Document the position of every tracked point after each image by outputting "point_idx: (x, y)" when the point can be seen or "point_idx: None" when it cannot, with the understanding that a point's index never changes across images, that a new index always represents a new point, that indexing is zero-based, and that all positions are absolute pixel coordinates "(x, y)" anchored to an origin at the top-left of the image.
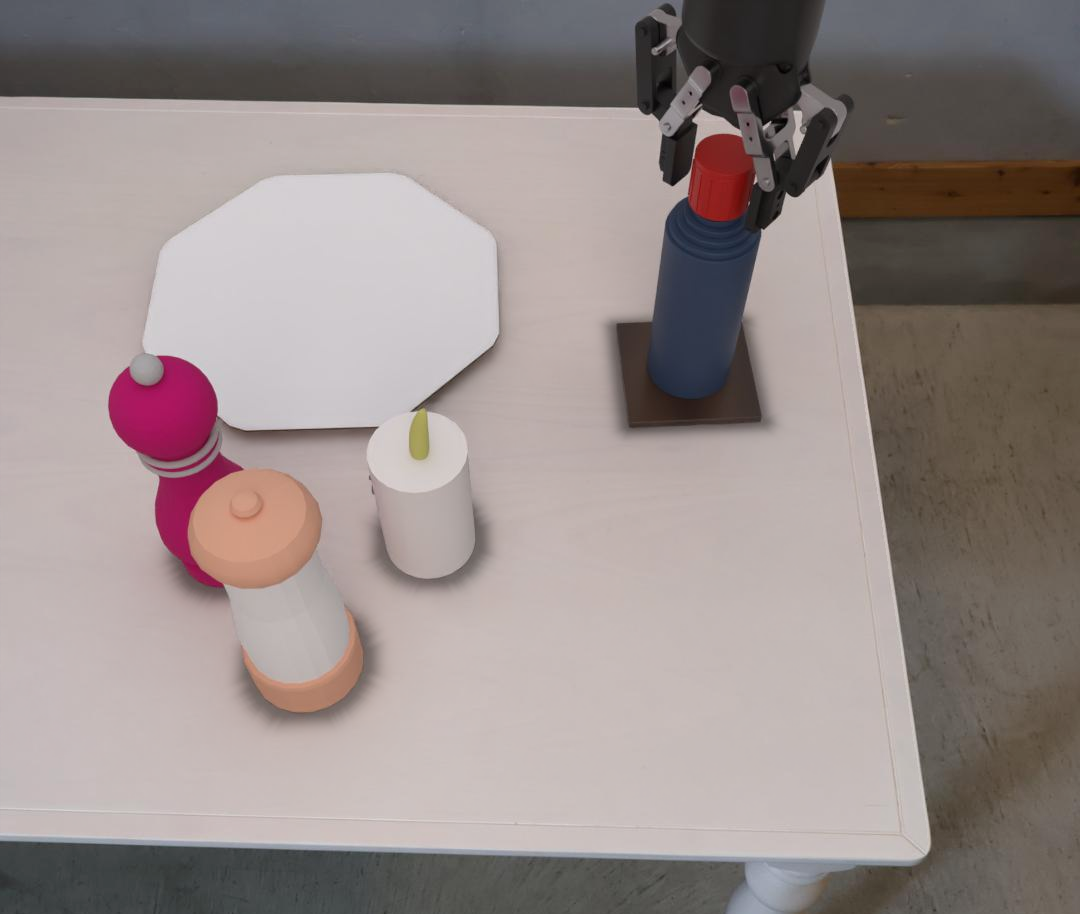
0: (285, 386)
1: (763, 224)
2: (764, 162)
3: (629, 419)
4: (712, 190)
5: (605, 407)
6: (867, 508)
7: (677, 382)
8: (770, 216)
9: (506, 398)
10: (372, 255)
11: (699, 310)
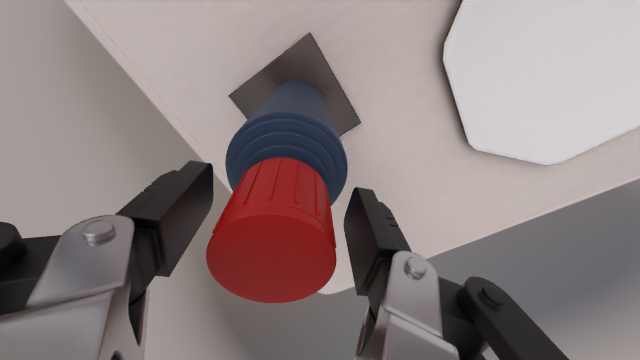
0: None
1: (171, 175)
2: (64, 285)
3: (311, 36)
4: (267, 187)
5: (335, 43)
6: (118, 58)
7: (290, 81)
8: (148, 186)
9: (413, 5)
10: (559, 88)
11: (272, 98)
